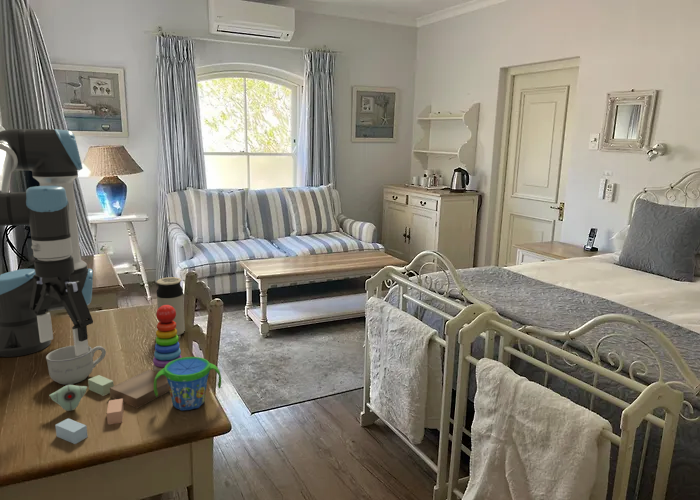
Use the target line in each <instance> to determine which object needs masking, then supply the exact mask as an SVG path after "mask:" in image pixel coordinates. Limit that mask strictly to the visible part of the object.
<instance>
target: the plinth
mask: <svg viewBox="0 0 700 500" xmlns="http://www.w3.org/2000/svg"><path fill="white" fill-rule="evenodd" d="M157 373H158V372H156V371H154V370H153V369H147V370H145V371H143V372H141V373H138V374H137V375H134V376H132V377H130V378H128V379H126V380H124V381H121V382H119V383H117V384H115V385H114V386H113V387H110V393H109V395H110V398H112V399H113V400H116V399H123V404H127V405H129V406H131V407H133V408H135V409H139V408H140V407H142V406H144V405H145V404H146V405H147V404H149V403H150V402H151V401H153V400H155V399H157V398H159V397H161V396H163V395H165V394H168V391H169V392H170V390H169V386H168V381H167V377H166V376H165V375H161V376H160V377H159V378H158V379H157V392H158V396H157V397H156V395H155V392H154V380H155V377H156V375H157Z"/></svg>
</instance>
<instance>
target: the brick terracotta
mask: <svg viewBox="0 0 700 500" xmlns="http://www.w3.org/2000/svg"><path fill="white" fill-rule="evenodd" d="M124 409H125V407H124V402H123V399H110V400H108V405H107V409H106V420H107V421H106V422H107V425H114V424H120V423H123V419H124Z"/></svg>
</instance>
